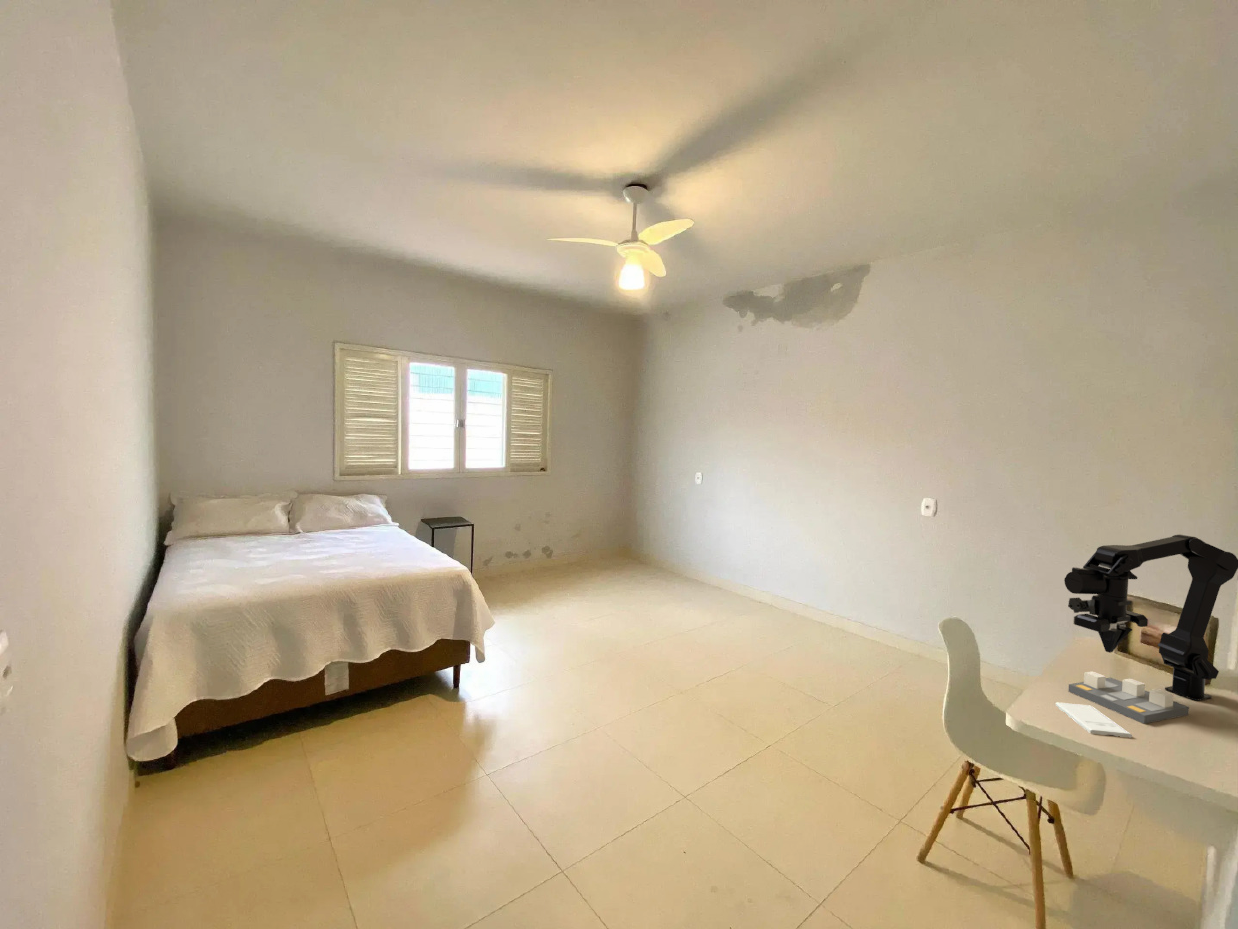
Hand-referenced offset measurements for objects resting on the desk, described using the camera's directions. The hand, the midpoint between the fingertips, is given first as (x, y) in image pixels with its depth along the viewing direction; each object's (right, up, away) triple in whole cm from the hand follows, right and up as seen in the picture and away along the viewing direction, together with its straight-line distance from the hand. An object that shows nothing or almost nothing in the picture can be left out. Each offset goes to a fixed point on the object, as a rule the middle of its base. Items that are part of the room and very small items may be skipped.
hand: (1108, 652), depth 135 cm
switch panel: (-1, -11, -5) cm, 12 cm away
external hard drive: (-18, -12, -14) cm, 26 cm away
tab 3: (+3, -9, -10) cm, 14 cm away
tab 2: (+2, -9, -5) cm, 10 cm away
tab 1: (-5, -9, -1) cm, 10 cm away
